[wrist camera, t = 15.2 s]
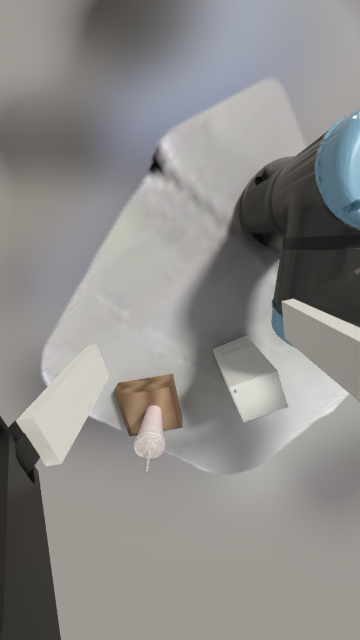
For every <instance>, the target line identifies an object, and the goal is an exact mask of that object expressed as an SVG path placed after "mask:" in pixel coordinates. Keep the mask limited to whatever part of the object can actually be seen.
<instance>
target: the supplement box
mask: <svg viewBox="0 0 360 640" xmlns="http://www.w3.org/2000/svg"><path fill="white" fill-rule="evenodd" d="M213 352H214V355H215V357H216V360H217V363H218V365H219V368H220V370H221V373H222V375H223V378H224V381H225V383H226V385H227V388H228V390H229V393H230V395H231V397H232V400H233V402H234V404H235V406H236V408H237V410H238V412H239V415H240V417H241V419H242V421H243V422H247V421H249V420H252V419H255V418H258V417H261V416H263V415H266V414H269V413H272V412H275V411H278V410H280V409H283V408H286V407H288V405H287V402H286V399H285V396H284V393H283V390H282V386H281V383H280V379H279V375H278V372H277V369H276V368H275V367H274V366H273V365H272V364H271V363H270V362H269V361H268V360H267V359H266V357H265V356H264V355H263V354H262V353H261V352H260V351H259V349H258V348H257V347H256V346H255V345H254V344H253V342H252V341H251V340H250V339H249V338H248V337H247V336H243V337H241V338H238V339H236V340H233V341H231V342H228V343H226V344H223V345H221V346H218V347H216V348H213Z"/></svg>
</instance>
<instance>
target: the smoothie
mask: <svg viewBox="0 0 360 640" xmlns="http://www.w3.org/2000/svg"><path fill="white" fill-rule="evenodd" d="M164 450H165V440H164V438H163V425H162V413H161V409H160V407H158V406H155V405H152V406H149V407H148V408H147V410H146V413H145V416H144V419H143V422H142V425H141V428H140V431H139V433H138V436H137V437H136V438H135V441H134V451H135V452H136V454H137V455H139V456H140V457H143V458H147V463H146V470H145V473H148V470H149V462H150V459H152V458H156V457H159V456H160V455H161V454H162V453H163V452H164Z"/></svg>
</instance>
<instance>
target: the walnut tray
mask: <svg viewBox="0 0 360 640" xmlns="http://www.w3.org/2000/svg"><path fill="white" fill-rule="evenodd" d="M115 395H116V398H117V401H118V404H119V407H120V410H121V413H122V416H123V419H124V421H125V424H126V427H127V430H128V433H129V436H134V435H138V433H139V431H140V428H141V425H142V422H143V419H144V416H145V413H146V410H147V408H148V407H149V406H152V405H155V406H158V407H160V409H161V413H162V425H163V431H165V430H172V429H178V428H183V427H182V414H181V410H180V405H179V401H178V396H177V392H176V387H175V382H174V378H173V374H170V375H164V376H158V377H152V378H146V379H140V380H134V381H128V382H122V383H118V385H117V388H116V390H115Z"/></svg>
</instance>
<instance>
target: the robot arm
mask: <svg viewBox="0 0 360 640" xmlns="http://www.w3.org/2000/svg"><path fill="white" fill-rule="evenodd" d="M240 221H241V225H242V228H243V230H244V232H245V234H246V236H247V237H248V238H249V240H250V241H251V242H253V243H254V244H255V245H257V246H259V247H261V248H264V249H269V250H281V254H280V261H279V267H278V274H277V280H276V286H275V292H274V298H273V300H272V308H273V310H272V321H271V323H272V327H273V329H274V331H275V332H276V334H277V335H278V336H279V337H280V338H281V339H282V340H283V341H285V342H286V343H288V344H289V345H291V346H293V347H295V348H297V349H298V350H299V351H300V352H301V353H303V354H304V355H305V356H306V357H307V358H309V359H310V360H311V361H312V362H313V363H314V364H316V365H317V366H318V367H319V368H320V369H321V370H323V371H324V372H325V373H326V374H327V375H329V376H330V377H331V378H332V379H333V380H334V381H336V382H337V383H338V384H339V385H340V386H342V387H343V388H344V389H345V390H346V391H347V392H349V393H350V394H351V395H352V396H353V397H355V398H356V399H357V400H358V401H359V402H360V109H358V110H357V111H355V112H353V113H352V114H350V115H348V116H346V117H344V118H342V119H341V120H339V121H338V122H337V123H335V124H334V125H333V126H332V127H331V128H330V129H329V131H327V132H326V133H325V134H323V135H322V136H321V137H320V138H318V139H317V140H316V141H315V142H313V143H312V144H311V145H309V146H308V147H307V148H305V149H304V150H303V151H302V152H300V153H299V154H298V155H296V156H292V157H284V158H280V159H277V160H275V161H273V162H271V163H269V164H268V165H266V166H265V167H264V168H262V169H261V170H260V171H259V172H258V173H257V174H256V175H255V176H254V177H253V178H252V179H251V181H250V182H249V183H248V185H247V187H246V189H245V191H244V193H243V196H242V199H241V204H240ZM109 377H110V376H109V374H108V371H107V369H106V367H105V364H104V362H103V360H102V357H101V355H100V353H99V350H98V348H97V345H92V346H87V347H85V348H84V349H83V351H82V352H81V353H80V354H79V355H78V356H77V357H76V358H75V359H74V360H73V361H72V362H71V363H70V364H69V365H68V366H67V367H66V368H65V369H64V370H63V371H62V373H61V374H60V375H59V376H58V377H57V378H56V379H55V380H54V381H53V382H52V383H51V384H50V385H49V386H48V387H47V388H46V389H45V390H44V392H43V393H41V394H40V395H39V396H38V397H37V398H36V399H35V400H34V401H33V403H32V404H31V405H30V406H29V407H28V408H27V409H26V410H25V411H24V412H23V413H22V414H21V415H20V416H19V417H18V418H17V419H16V420H15V421H14V422H13V423H12V424H11V425H10V427H9V428H8V427H7V425H6V424H5V423H4V421H3V419H2V418H1V416H0V640H61V638H60V630H59V623H58V615H57V608H56V600H55V593H54V585H53V579H52V571H51V563H50V556H49V548H48V541H47V533H46V526H45V518H44V511H43V504H42V496H41V489H40V482H39V474H38V470H37V469H36V467H35V466H34V465H35V464H36V462H37V461H38V459H39V458H41V460H42V461H43V463H44V464H45V466H46V467H48V466H52V465H58V464H62V462H63V461H64V459H65V457H66V455H67V453H68V451H69V450H70V448H71V446H72V444H73V442H74V440H75V439H76V437H77V435H78V433H79V431H80V430H81V428H82V426H83V424H84V422H85V420H86V419H87V417H88V415H89V413H90V411H91V409H92V408H93V406H94V404H95V402H96V400H97V399H98V397H99V395H100V393H101V391H102V389H103V388H104V386H105V384H106V382H107V380H108V378H109Z"/></svg>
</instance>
